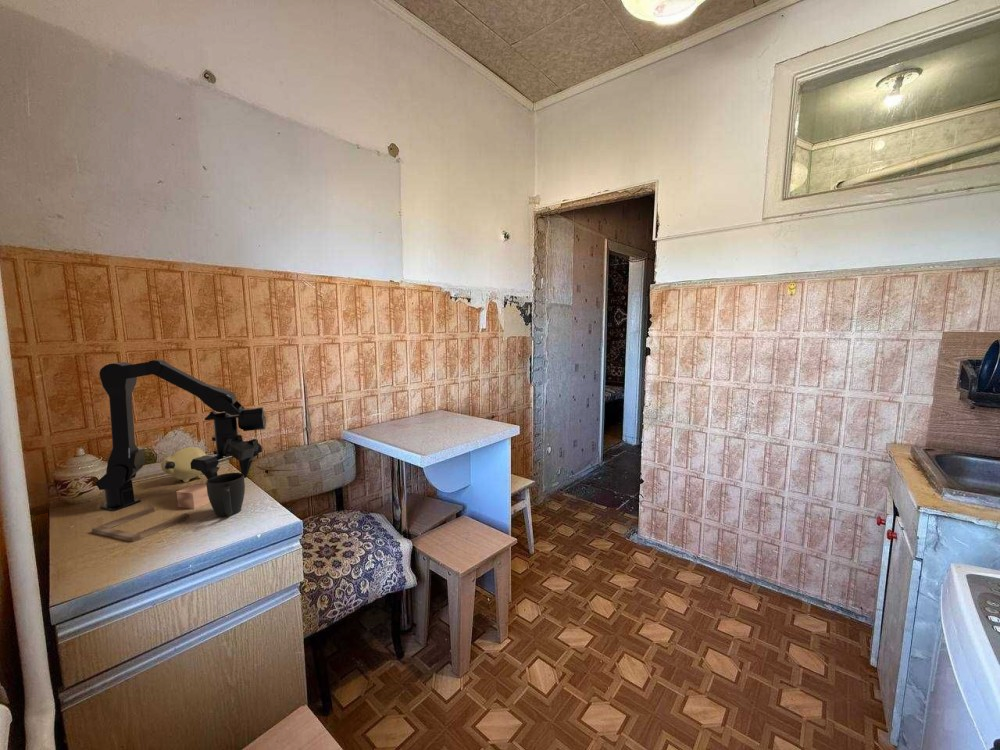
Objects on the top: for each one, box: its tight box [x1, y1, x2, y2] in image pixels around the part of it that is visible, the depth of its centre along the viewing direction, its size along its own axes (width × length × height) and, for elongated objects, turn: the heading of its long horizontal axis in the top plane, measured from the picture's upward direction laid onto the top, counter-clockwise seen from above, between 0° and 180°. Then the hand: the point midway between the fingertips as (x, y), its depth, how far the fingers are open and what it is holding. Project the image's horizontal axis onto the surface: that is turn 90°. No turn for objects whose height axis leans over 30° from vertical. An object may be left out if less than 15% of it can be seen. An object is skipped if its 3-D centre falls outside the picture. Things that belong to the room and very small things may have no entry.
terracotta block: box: [176, 482, 211, 510], centre depth 113 cm, size 6×6×4 cm
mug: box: [205, 472, 246, 518], centre depth 105 cm, size 8×12×10 cm
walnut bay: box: [91, 506, 191, 543], centre depth 101 cm, size 15×12×1 cm
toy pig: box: [160, 446, 208, 483], centre depth 131 cm, size 10×12×11 cm
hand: (231, 482), depth 123 cm, fingers open, 9 cm apart
